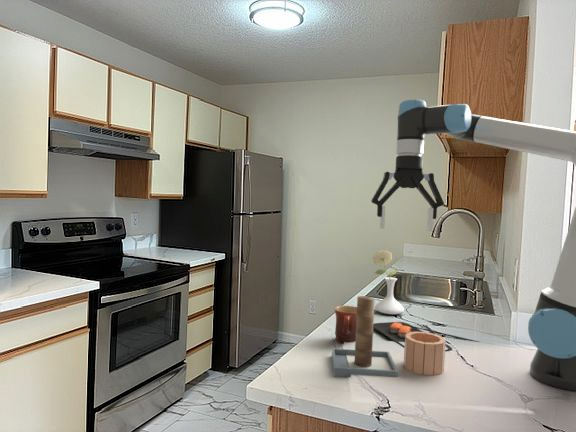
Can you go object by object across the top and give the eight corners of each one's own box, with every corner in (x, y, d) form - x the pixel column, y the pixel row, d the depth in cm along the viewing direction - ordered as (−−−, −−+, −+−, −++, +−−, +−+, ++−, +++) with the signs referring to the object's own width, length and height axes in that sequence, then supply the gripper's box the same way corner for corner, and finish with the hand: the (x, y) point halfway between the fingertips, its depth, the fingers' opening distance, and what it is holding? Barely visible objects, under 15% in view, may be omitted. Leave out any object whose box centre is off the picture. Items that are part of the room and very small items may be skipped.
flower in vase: (403, 310, 180) (406, 249, 178) (404, 318, 168) (407, 253, 167) (371, 307, 183) (373, 247, 181) (369, 314, 171) (372, 250, 170)
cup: (437, 364, 122) (438, 332, 122) (448, 379, 112) (450, 345, 112) (400, 362, 123) (402, 330, 122) (408, 377, 113) (410, 343, 112)
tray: (388, 359, 125) (388, 351, 125) (397, 380, 111) (398, 371, 111) (331, 356, 126) (332, 348, 126) (334, 376, 112) (334, 367, 112)
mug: (334, 335, 144) (335, 304, 144) (361, 338, 143) (362, 307, 142) (330, 347, 133) (331, 314, 132) (359, 351, 131) (361, 317, 130)
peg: (370, 361, 121) (373, 296, 120) (372, 368, 116) (375, 300, 115) (353, 360, 121) (356, 295, 120) (355, 367, 116) (358, 299, 116)
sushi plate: (367, 328, 155) (368, 318, 155) (440, 324, 164) (441, 314, 164) (413, 359, 128) (414, 346, 127) (498, 352, 136) (499, 340, 136)
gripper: (449, 158, 130) (445, 230, 131) (364, 155, 131) (361, 226, 132) (458, 156, 122) (453, 232, 124) (367, 153, 124) (363, 228, 125)
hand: (405, 229), depth 128 cm, fingers open, 13 cm apart
